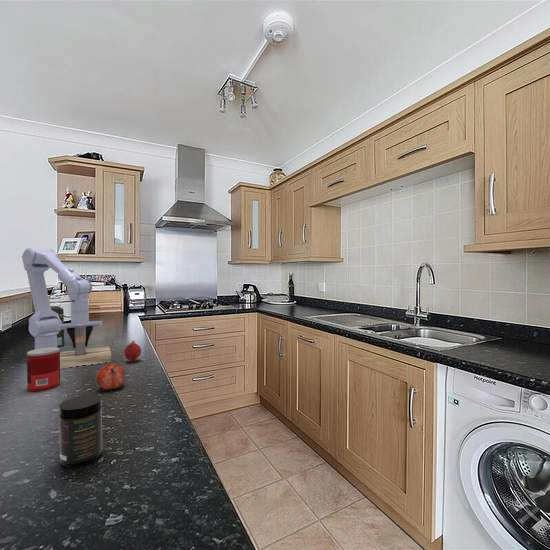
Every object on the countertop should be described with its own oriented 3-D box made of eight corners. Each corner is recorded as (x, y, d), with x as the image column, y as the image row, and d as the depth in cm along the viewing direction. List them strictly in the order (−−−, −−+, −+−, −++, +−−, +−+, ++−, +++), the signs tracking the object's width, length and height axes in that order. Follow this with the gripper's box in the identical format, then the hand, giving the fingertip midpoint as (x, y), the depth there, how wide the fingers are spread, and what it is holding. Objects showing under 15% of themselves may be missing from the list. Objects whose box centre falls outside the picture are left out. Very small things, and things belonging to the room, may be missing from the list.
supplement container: (110, 452, 59) (110, 397, 59) (74, 473, 53) (73, 412, 53) (88, 444, 62) (87, 392, 62) (51, 463, 56) (50, 405, 55)
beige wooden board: (50, 361, 120) (50, 353, 120) (109, 353, 130) (108, 346, 130) (46, 371, 108) (46, 362, 108) (111, 361, 118) (111, 354, 118)
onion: (134, 364, 115) (134, 342, 115) (120, 363, 116) (120, 342, 116) (144, 359, 121) (144, 339, 121) (131, 359, 122) (130, 338, 122)
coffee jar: (43, 345, 146) (42, 306, 146) (63, 342, 151) (62, 304, 151) (44, 349, 138) (43, 307, 138) (65, 346, 143) (64, 306, 143)
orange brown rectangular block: (75, 356, 120) (75, 337, 120) (85, 355, 122) (85, 336, 122) (75, 359, 116) (75, 339, 116) (85, 358, 117) (85, 338, 117)
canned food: (66, 383, 95) (65, 348, 95) (39, 393, 88) (38, 354, 88) (48, 380, 98) (48, 346, 98) (20, 390, 90) (20, 352, 90)
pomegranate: (94, 395, 91) (93, 383, 84) (99, 371, 96) (98, 358, 89) (122, 394, 94) (123, 382, 87) (125, 371, 99) (126, 358, 92)
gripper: (56, 314, 111) (56, 351, 112) (102, 311, 119) (102, 346, 119) (57, 311, 117) (58, 347, 118) (101, 309, 125) (101, 342, 125)
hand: (80, 346), depth 119 cm, fingers closed on orange brown rectangular block, 3 cm apart
